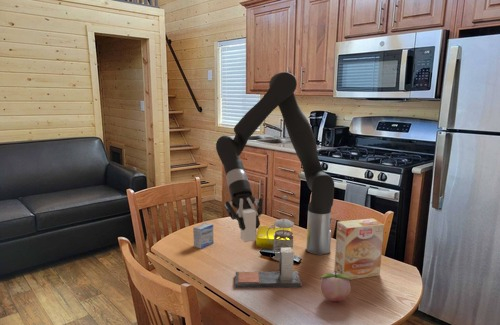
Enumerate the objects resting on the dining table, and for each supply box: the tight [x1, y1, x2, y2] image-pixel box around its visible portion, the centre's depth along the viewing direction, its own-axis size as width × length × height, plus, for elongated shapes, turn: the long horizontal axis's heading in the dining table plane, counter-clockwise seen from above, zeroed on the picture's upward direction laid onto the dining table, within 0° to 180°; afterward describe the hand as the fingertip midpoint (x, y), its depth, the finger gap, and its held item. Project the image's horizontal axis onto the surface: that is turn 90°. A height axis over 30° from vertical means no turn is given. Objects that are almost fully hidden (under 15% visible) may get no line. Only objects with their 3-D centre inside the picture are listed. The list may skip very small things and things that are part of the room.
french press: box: [267, 195, 295, 262], centre depth 139 cm, size 10×12×25 cm
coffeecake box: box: [333, 217, 385, 280], centre depth 126 cm, size 15×7×20 cm, turn 105°
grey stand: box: [234, 248, 302, 289], centre depth 120 cm, size 22×8×12 cm, turn 92°
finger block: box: [240, 209, 257, 243], centre depth 118 cm, size 4×4×10 cm
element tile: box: [255, 225, 292, 249], centre depth 156 cm, size 15×15×5 cm
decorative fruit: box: [319, 271, 352, 302], centre depth 109 cm, size 9×8×10 cm
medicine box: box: [193, 222, 215, 250], centre depth 150 cm, size 8×4×9 cm, turn 143°
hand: (250, 228), depth 116 cm, fingers closed on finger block, 4 cm apart
